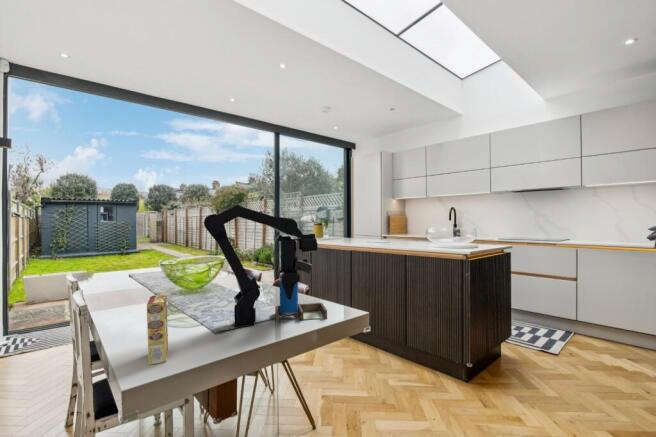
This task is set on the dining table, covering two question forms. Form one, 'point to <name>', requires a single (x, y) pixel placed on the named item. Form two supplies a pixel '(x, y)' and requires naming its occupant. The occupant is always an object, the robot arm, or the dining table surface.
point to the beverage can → (288, 301)
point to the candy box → (157, 329)
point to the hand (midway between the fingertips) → (288, 297)
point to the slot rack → (307, 311)
